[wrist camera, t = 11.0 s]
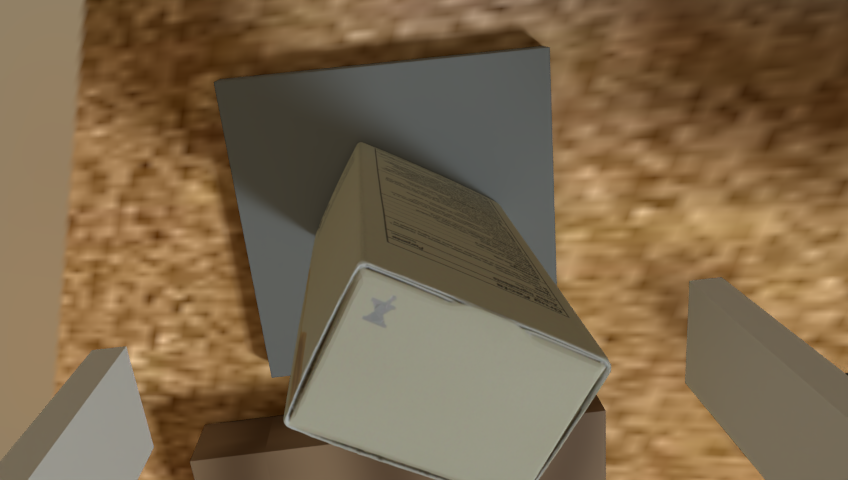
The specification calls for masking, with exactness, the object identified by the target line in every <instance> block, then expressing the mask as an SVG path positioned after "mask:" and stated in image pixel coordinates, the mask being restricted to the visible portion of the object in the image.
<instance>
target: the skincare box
mask: <svg viewBox="0 0 848 480" xmlns="http://www.w3.org/2000/svg"><path fill="white" fill-rule="evenodd" d="M610 372H611V364H610V362H609V360H608V358H607V357H606V355H605V354H604V352H603V351H602V350H601V348H600V347H599V345H598V344H597V343H596V341H595V340H594V338H593V337H592V335H591V334H590V333H589V331H588V330H587V328H586V327H585V326H584V324H583V323H582V321H581V320H580V319H579V317H578V316H577V314H576V313H575V312H574V310H573V309H572V307H571V306H570V304H569V303H568V302H567V300H566V299H565V297H564V296H563V294H562V293H561V291H560V290H559V289H558V287H557V286H556V284H555V283H554V282H553V280H552V279H551V277H550V276H549V274H548V273H547V272H546V270H545V269H544V267H543V266H542V265H541V263H540V262H539V260H538V259H537V257H536V256H535V255H534V253H533V252H532V250H531V249H530V247H529V246H528V245H527V243H526V242H525V240H524V239H523V238H522V236H521V235H520V233H519V232H518V230H517V229H516V227H515V226H514V225H513V223H512V222H511V220H510V219H509V217H508V216H507V215H506V213H505V212H504V210H503V209H502V207H501V206H500V205H499V204H498V203H497V202H495V201H493V200H491V199H489V198H487V197H485V196H483V195H481V194H479V193H477V192H475V191H473V190H471V189H468V188H466V187H464V186H462V185H460V184H458V183H456V182H454V181H452V180H449V179H447V178H445V177H443V176H441V175H438V174H436V173H434V172H431V171H429V170H427V169H425V168H422V167H420V166H418V165H416V164H413V163H411V162H409V161H407V160H404V159H402V158H399V157H397V156H395V155H392V154H390V153H388V152H385V151H383V150H380V149H378V148H375V147H373V146H370V145H368V144H366V143H362V142H359V143H358V144H357V145H356V147H355V149H354V151H353V153H352V155H351V157H350V159H349V161H348V163H347V165H346V167H345V169H344V171H343V173H342V175H341V177H340V179H339V182H338V184H337V186H336V188H335V190H334V192H333V194H332V197H331V199H330V201H329V203H328V206H327V208H326V210H325V213H324V215H323V217H322V220H321V222H320V225H319V228H318V230H317V233H316V235H315V240H314V246H313V251H312V256H311V262H310V268H309V274H308V279H307V285H306V291H305V296H304V302H303V307H302V312H301V318H300V323H299V328H298V334H297V340H296V346H295V351H294V357H293V365H292V370H291V375H290V381H289V388H288V393H287V399H286V406H285V412H284V418H283V421H284V423H285V425H286V426H287V427H289V428H291V429H293V430H296V431H299V432H301V433H304V434H306V435H308V436H310V437H313V438H316V439H319V440H321V441H324V442H327V443H329V444H331V445H334V446H337V447H340V448H343V449H345V450H348V451H351V452H354V453H357V454H358V455H362V456H365V457H368V458H371V459H374V460H377V461H380V462H383V463H386V464H389V465H392V466H395V467H398V468H401V469H404V470H407V471H410V472H413V473H416V474H420V475H423V476H426V477H429V478H432V479H435V480H539V479H540V477H541V476H542V475H543V473H544V472H545V470H546V469H547V467H548V466H549V464H550V463H551V461H552V460H553V458H554V457H555V456H556V454H557V453H558V451H559V450H560V449H561V447H562V446H563V444H564V442H565V441H566V440H567V438H568V436H569V435H570V433H571V432H572V430H573V429H574V427H575V426H576V424H577V423H578V421H579V420H580V418H581V417H582V415H583V414H584V412H585V411H586V410H587V408H588V406H589V405H590V403H591V402H592V400H593V398H594V397H595V395H596V394H597V392H598V391H599V389H600V388H601V386H602V385H603V383H604V382H605V380H606V378H607V377H608V375H609V374H610Z"/></svg>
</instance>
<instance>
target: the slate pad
mask: <svg viewBox="0 0 848 480" xmlns="http://www.w3.org/2000/svg"><path fill="white" fill-rule="evenodd" d="M214 86H215V91H216V96H217V101H218V106H219V111H220V117H221V122H222V127H223V132H224V137H225V142H226V147H227V152H228V157H229V162H230V167H231V173H232V178H233V183H234V188H235V193H236V198H237V203H238V208H239V213H240V218H241V223H242V228H243V234H244V239H245V244H246V249H247V254H248V259H249V264H250V269H251V274H252V279H253V284H254V290H255V295H256V300H257V305H258V310H259V315H260V320H261V325H262V330H263V335H264V340H265V346H266V351H267V356H268V361H269V366H270V371H271V376H272V378H273V377H282V376H290V375H291V370H292V365H293V357H294V351H295V346H296V340H297V334H298V328H299V323H300V318H301V312H302V307H303V302H304V296H305V291H306V285H307V279H308V274H309V268H310V262H311V256H312V251H313V246H314V240H315V235H316V233H317V230H318V228H319V225H320V222H321V220H322V217H323V215H324V213H325V210H326V208H327V206H328V203H329V201H330V199H331V197H332V194H333V192H334V190H335V188H336V186H337V184H338V182H339V179H340V177H341V175H342V173H343V171H344V169H345V167H346V165H347V163H348V161H349V159H350V157H351V155H352V153H353V151H354V149H355V147H356V145H357V144H358V143H359V142H362V143H366V144H368V145H370V146H373V147H375V148H378V149H380V150H383V151H385V152H388V153H390V154H392V155H395V156H397V157H399V158H402V159H404V160H407V161H409V162H411V163H413V164H416V165H418V166H420V167H422V168H425V169H427V170H429V171H431V172H434V173H436V174H438V175H441V176H443V177H445V178H447V179H449V180H452V181H454V182H456V183H458V184H460V185H462V186H464V187H466V188H468V189H471V190H473V191H475V192H477V193H479V194H481V195H483V196H485V197H487V198H489V199H491V200H493V201H495V202H497V203H498V204H499V205H500V206H501V207H502V209H503V210H504V212H505V213H506V215H507V216H508V217H509V219H510V220H511V222H512V223H513V225H514V226H515V227H516V229H517V230H518V232H519V233H520V235H521V236H522V238H523V239H524V240H525V242H526V243H527V245H528V246H529V247H530V249H531V250H532V252H533V253H534V255H535V256H536V257H537V259H538V260H539V262H540V263H541V265H542V266H543V267H544V269H545V270H546V272H547V273H548V274H549V276H550V277H551V279H552V280H553V282H554V283H555V284H556V286H557V279H556V246H555V212H554V179H553V146H552V112H551V79H550V47H545V46H538V47H528V48H518V49H509V50H499V51H489V52H479V53H470V54H460V55H450V56H441V57H431V58H421V59H412V60H402V61H392V62H383V63H373V64H363V65H353V66H344V67H334V68H324V69H315V70H305V71H295V72H286V73H276V74H266V75H257V76H247V77H237V78H227V79H219V80H217V81H215V82H214Z"/></svg>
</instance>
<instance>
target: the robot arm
mask: <svg viewBox="0 0 848 480" xmlns="http://www.w3.org/2000/svg"><path fill="white" fill-rule="evenodd" d="M685 383H686V384H687V386H688V387H689V388H690V389H691V390H692V392H693V393H694V394H695V395H696V396H697V398H698V399H699V400H700V401H701V402H702V404H703V405H704V406H705V407H706V409H707V410H708V411H709V412H710V413H711V415H712V416H713V417H714V418H715V419H716V421H717V422H718V423H719V424H720V425H721V427H722V428H723V429H724V430H725V431H726V433H727V434H728V435H729V436H730V438H731V439H732V440H733V441H734V442H735V444H736V445H737V446H738V447H739V448H740V450H741V451H742V452H743V453H744V454H745V456H746V457H747V458H748V459H749V461H750V462H751V463H752V464H753V465H754V467H755V468H756V469H757V470H758V471H759V473H760V474H761V475H762V476H763V477H764V479H765V480H848V373H844V372H842V371H841V370H840V369H839V368H837V367H836V366H835V365H833V364H832V363H831V362H830V361H828V360H827V359H826V358H824V357H823V356H822V355H821V354H819V353H818V352H817V351H815V350H814V349H813V348H812V347H810V346H809V345H808V344H806V343H805V342H804V341H803V340H801V339H800V338H799V337H797V336H796V335H795V334H794V333H792V332H791V331H790V330H788V329H787V328H786V327H785V326H783V325H782V324H781V323H779V322H778V321H777V320H776V319H774V318H773V317H772V316H771V315H769V314H768V313H767V312H765V311H764V310H763V309H762V308H760V307H759V306H758V305H756V304H755V303H754V302H753V301H751V300H750V299H749V298H747V297H746V296H745V295H744V294H742V293H741V292H740V291H738V290H737V289H736V288H735V287H733V286H732V285H731V284H729V283H728V282H727V281H726V280H724V279H723V278H722V277H720V278H711V279H702V280H694V281H689V304H688V328H687V351H686V374H685ZM153 448H154V446H153V442H152V439H151V435H150V431H149V428H148V424H147V420H146V417H145V413H144V410H143V406H142V402H141V399H140V395H139V391H138V388H137V384H136V381H135V377H134V373H133V370H132V366H131V362H130V359H129V355H128V352H127V348H126V346H125V347H117V348H108V349H100V350H92V351H91V352H90V354H89V355H88V356H87V357H86V358H85V360H84V361H83V362H82V363H81V364H80V366H79V367H78V368H77V369H76V371H75V372H74V373H73V374H72V375H71V377H70V378H69V379H68V380H67V381H66V383H65V384H64V385H63V386H62V387H61V389H60V390H59V391H58V392H57V394H56V395H55V396H54V397H53V398H52V400H51V401H50V402H49V403H48V404H47V406H46V407H45V408H44V409H43V411H42V412H41V413H40V414H39V416H38V417H37V418H36V419H35V420H34V421H33V423H32V424H31V425H30V426H29V427H28V429H27V430H26V431H25V432H24V433H23V435H22V436H21V437H20V438H19V439H18V441H17V442H16V443H15V444H14V446H13V447H12V448H11V449H10V450H9V452H8V453H7V454H6V455H5V456H4V458H3V459H2V460H1V461H0V480H138V478H139V476H140V474H141V472H142V470H143V468H144V466H145V464H146V462H147V460H148V458H149V456H150V454H151V452H152V450H153Z"/></svg>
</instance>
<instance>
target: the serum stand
mask: <svg viewBox="0 0 848 480" xmlns="http://www.w3.org/2000/svg"><path fill="white" fill-rule="evenodd" d="M283 418H284V415H282V416H274V417H265V418H257V419H249V420H241V421H232V422H224V423H216V424H207V425H205V426H204V428H203V431H202V433H201V436H200V438H199V440H198V443H197V445H196V448H195V450H194V453H193V455H192V458H191V460H190V464H191V468H192V472H193V475H194V479H195V480H435V479H432V478H429V477H426V476H423V475H420V474H416V473H413V472H410V471H407V470H404V469H401V468H398V467H395V466H392V465H389V464H386V463H383V462H380V461H377V460H374V459H371V458H368V457H365V456H362V455H358V454H357V453H354V452H351V451H348V450H345V449H343V448H340V447H337V446H334V445H331V444H329V443H327V442H324V441H321V440H319V439H316V438H313V437H310V436H308V435H306V434H304V433H301V432H299V431H296V430H293V429H291V428H289V427H287V426H286V425H285V423H284V421H283ZM539 480H606V415H605V409H604V407H603V405H602V404H601V402H600V400H599V398H598V397H597V395H595V397H594V398H593V400H592V402H591V403H590V405H589V406H588V408H587V410H586V411H585V412H584V414H583V415H582V417H581V418H580V420H579V421H578V423H577V424H576V426H575V427H574V429H573V430H572V432H571V433H570V435H569V436H568V438H567V440H566V441H565V442H564V444H563V446H562V447H561V449H560V450H559V451H558V453H557V454H556V456H555V457H554V458H553V460H552V461H551V463H550V464H549V466H548V467H547V469H546V470H545V472H544V473H543V475H542V476H541V477H540V479H539Z"/></svg>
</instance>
